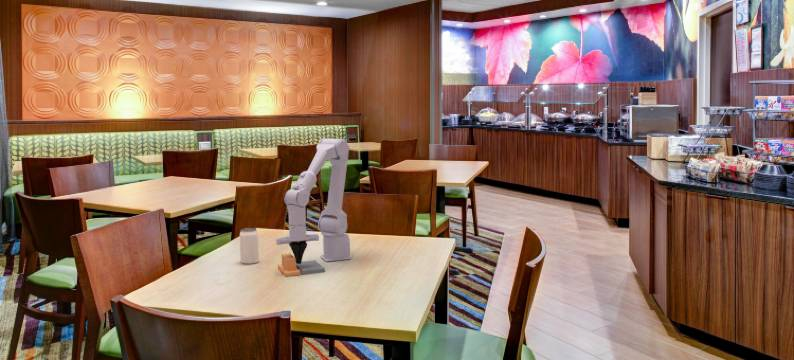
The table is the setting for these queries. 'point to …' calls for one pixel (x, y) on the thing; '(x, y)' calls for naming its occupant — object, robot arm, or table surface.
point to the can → (249, 246)
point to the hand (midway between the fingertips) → (298, 263)
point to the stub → (288, 265)
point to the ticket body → (310, 267)
